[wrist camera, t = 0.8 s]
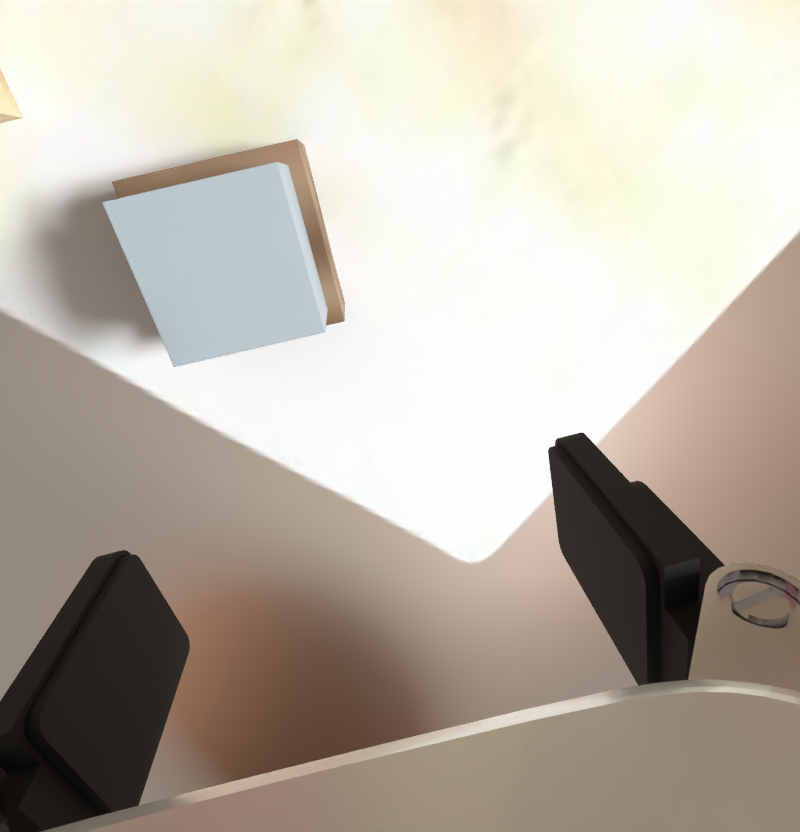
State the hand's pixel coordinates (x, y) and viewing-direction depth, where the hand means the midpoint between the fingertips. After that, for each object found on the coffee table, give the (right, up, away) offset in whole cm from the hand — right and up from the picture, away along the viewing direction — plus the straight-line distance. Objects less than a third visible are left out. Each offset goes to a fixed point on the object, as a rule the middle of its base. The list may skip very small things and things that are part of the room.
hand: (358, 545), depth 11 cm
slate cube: (-8, +12, +17) cm, 23 cm away
